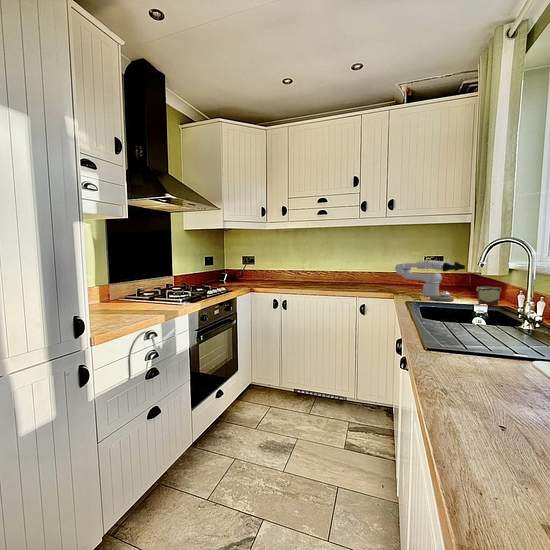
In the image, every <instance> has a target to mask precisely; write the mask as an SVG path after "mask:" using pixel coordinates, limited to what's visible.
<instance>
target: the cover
mask: <svg viewBox="0 0 550 550" xmlns="http://www.w3.org/2000/svg"><path fill="white" fill-rule="evenodd" d="M440 295H441V297H450V296H451V292H449V291H445V290H443V291H442V292H440Z"/></svg>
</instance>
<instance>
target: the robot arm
mask: <svg viewBox="0 0 550 550" xmlns="http://www.w3.org/2000/svg"><path fill="white" fill-rule="evenodd" d="M412 268H417V269H418V270H429V269H430V270H431V269H432V270H437V271H442V272H449V271H455V272H456V271H459V270H465V269H466V265H465V264H461V263H460V262H459V261H454V263H453V262H451V261H450V260H449V259H447V260H445V261H444V260H441V261H440V260H434V259H433V260H430V259H429V260H428V259H425V260H423V259H419V260H418V261H416V262H404V263H400V264H399V263H398V264H396V265H395V267H394V270H395V272H396V273H397V274H398V275H400V276H401V277H402V278H404V279H405V280H406V279H407V280H415V281H416V280H417V281H423V282H425V283H424V284H423V285H422V296H423V295H425V297H429V296H433V295H440V284H441V281H442V279H443V276H442V274H441V273H439V272H437V273H419V272H417V273H416V272H412Z"/></svg>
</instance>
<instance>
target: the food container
mask: <svg viewBox="0 0 550 550" xmlns="http://www.w3.org/2000/svg"><path fill="white" fill-rule="evenodd" d="M475 291H476V292H477V301H478V303H477V304H478V305H479V304H487V305H498V306H499V301H500V294H501V292H502V289H501V287H497V286H477V287H476V290H475Z"/></svg>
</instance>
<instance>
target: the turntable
mask: <svg viewBox="0 0 550 550" xmlns="http://www.w3.org/2000/svg"><path fill="white" fill-rule="evenodd" d="M429 300H432V301H437V302H449V301H450V302H452V301H455V300H454V296H451V295H450V297H441V294H439V295H433V296H430V297H429Z"/></svg>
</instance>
